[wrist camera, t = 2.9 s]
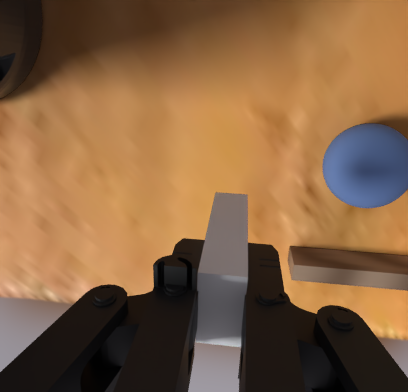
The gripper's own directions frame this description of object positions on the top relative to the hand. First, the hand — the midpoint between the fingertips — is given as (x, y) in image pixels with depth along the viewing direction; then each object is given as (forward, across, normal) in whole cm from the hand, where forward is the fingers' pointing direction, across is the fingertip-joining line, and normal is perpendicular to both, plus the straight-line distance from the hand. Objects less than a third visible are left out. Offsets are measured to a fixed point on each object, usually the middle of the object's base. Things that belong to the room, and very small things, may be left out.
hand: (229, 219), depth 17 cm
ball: (+10, +9, 0) cm, 14 cm away
